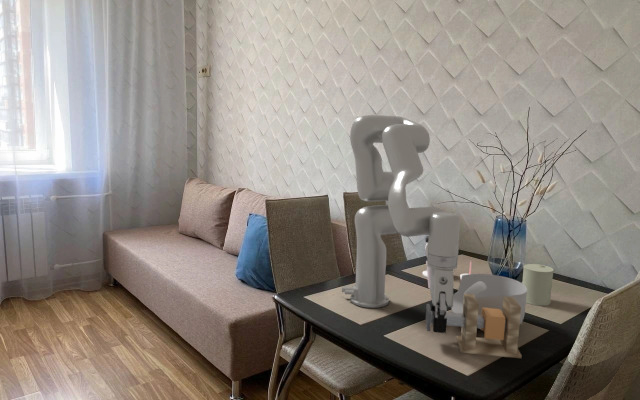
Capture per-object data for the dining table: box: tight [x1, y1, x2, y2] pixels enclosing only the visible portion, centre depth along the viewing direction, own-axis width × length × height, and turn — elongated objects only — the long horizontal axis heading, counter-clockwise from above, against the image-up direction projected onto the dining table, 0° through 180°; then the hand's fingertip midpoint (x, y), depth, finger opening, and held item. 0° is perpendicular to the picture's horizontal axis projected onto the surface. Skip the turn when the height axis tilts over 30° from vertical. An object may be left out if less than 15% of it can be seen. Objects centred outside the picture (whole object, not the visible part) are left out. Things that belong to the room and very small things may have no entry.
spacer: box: [480, 308, 505, 340], centre depth 114 cm, size 4×6×6 cm
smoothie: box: [425, 260, 431, 290], centre depth 159 cm, size 6×6×14 cm
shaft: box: [425, 303, 507, 332], centre depth 115 cm, size 22×6×5 cm, turn 80°
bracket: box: [456, 293, 522, 359], centre depth 114 cm, size 14×8×13 cm, turn 80°
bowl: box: [451, 273, 527, 330], centre depth 131 cm, size 20×19×12 cm
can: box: [521, 263, 555, 307], centre depth 149 cm, size 9×9×12 cm
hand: (438, 325), depth 117 cm, fingers open, 6 cm apart
